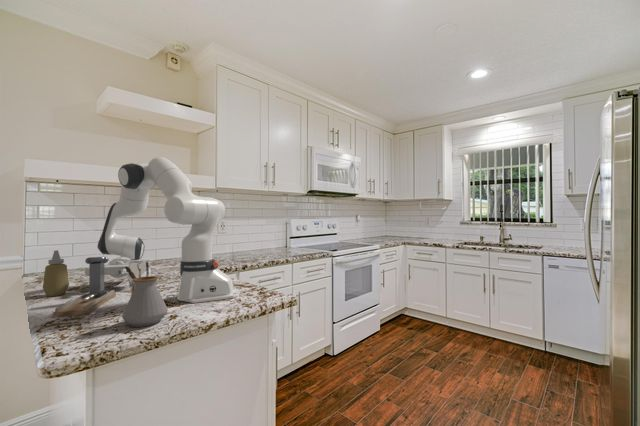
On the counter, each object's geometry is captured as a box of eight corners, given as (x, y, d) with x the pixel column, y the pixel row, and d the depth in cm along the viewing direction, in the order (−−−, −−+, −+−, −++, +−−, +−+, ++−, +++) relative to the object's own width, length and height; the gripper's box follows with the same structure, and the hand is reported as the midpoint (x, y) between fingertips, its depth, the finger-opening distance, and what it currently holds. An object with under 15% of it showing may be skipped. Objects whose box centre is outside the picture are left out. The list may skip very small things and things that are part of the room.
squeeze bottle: (42, 294, 121) (42, 250, 122) (68, 291, 127) (68, 249, 127) (42, 298, 115) (42, 252, 116) (69, 294, 121) (69, 250, 121)
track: (115, 295, 118) (115, 289, 118) (86, 314, 95) (86, 306, 95) (89, 297, 116) (89, 291, 116) (52, 317, 93) (52, 309, 93)
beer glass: (140, 306, 103) (140, 263, 103) (123, 305, 104) (123, 262, 105) (155, 301, 110) (155, 260, 110) (139, 300, 111) (139, 260, 112)
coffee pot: (174, 320, 88) (174, 270, 88) (131, 332, 79) (131, 276, 79) (144, 308, 101) (144, 263, 102) (104, 317, 92) (104, 268, 93)
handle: (111, 293, 116) (111, 255, 116) (97, 301, 104) (97, 259, 104) (88, 294, 113) (88, 256, 114) (72, 303, 102) (72, 260, 102)
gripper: (92, 261, 132) (77, 266, 119) (144, 259, 138) (135, 263, 124) (92, 275, 132) (76, 282, 119) (144, 273, 138) (135, 278, 124)
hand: (107, 272), depth 122 cm, fingers open, 8 cm apart
